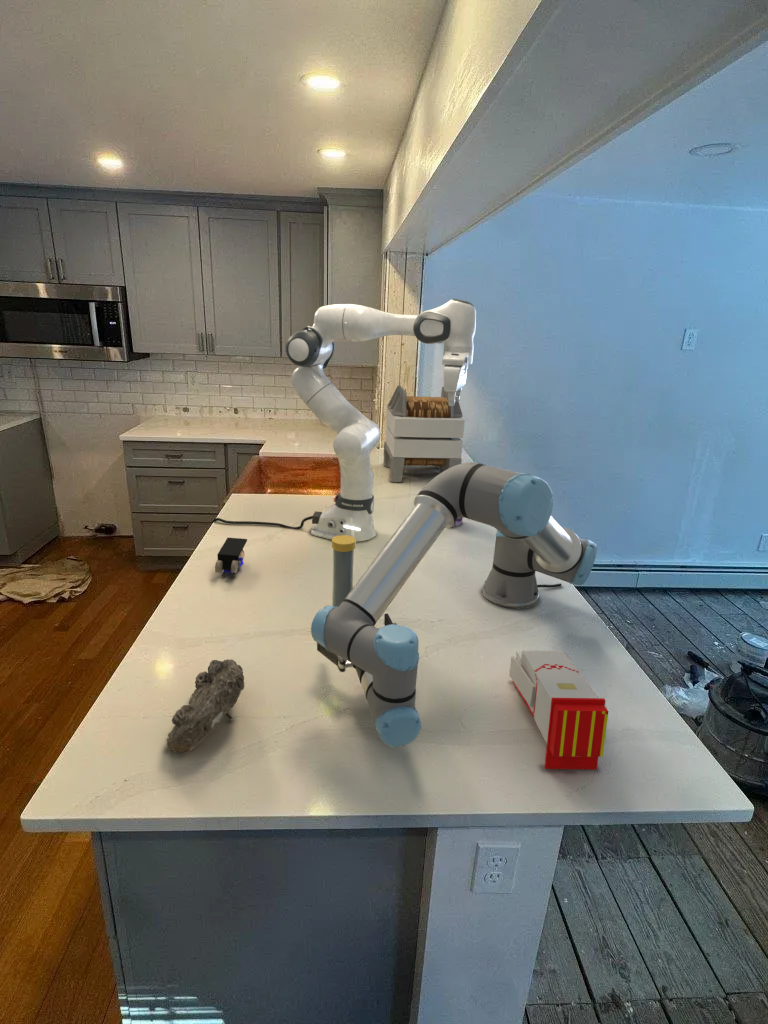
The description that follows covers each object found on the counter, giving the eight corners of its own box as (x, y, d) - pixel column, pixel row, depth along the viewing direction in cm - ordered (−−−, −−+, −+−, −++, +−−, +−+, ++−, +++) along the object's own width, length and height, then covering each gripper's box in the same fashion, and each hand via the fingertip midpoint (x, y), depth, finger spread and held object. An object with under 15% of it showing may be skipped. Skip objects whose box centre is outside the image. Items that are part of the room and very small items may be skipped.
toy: (559, 632, 124) (618, 706, 95) (553, 688, 127) (609, 777, 97) (504, 631, 123) (546, 705, 94) (499, 687, 126) (539, 776, 97)
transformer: (382, 463, 289) (386, 382, 275) (445, 464, 293) (451, 384, 279) (390, 482, 257) (394, 392, 243) (460, 483, 261) (468, 394, 247)
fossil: (192, 660, 117) (244, 628, 112) (224, 691, 120) (276, 661, 115) (142, 746, 98) (202, 712, 93) (182, 779, 101) (242, 748, 96)
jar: (330, 607, 149) (331, 538, 143) (349, 605, 151) (351, 536, 144) (334, 617, 145) (335, 546, 138) (354, 615, 146) (356, 544, 139)
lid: (329, 543, 143) (329, 535, 143) (352, 541, 145) (352, 534, 144) (334, 552, 138) (334, 545, 137) (358, 550, 140) (358, 543, 139)
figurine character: (238, 584, 162) (249, 557, 175) (236, 562, 158) (247, 536, 172) (215, 584, 161) (227, 556, 175) (212, 561, 158) (225, 535, 171)
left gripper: (453, 354, 180) (449, 398, 185) (441, 358, 161) (437, 407, 166) (473, 355, 178) (468, 399, 183) (463, 360, 160) (459, 409, 164)
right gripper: (314, 702, 107) (301, 641, 126) (439, 686, 113) (408, 630, 132) (314, 668, 104) (301, 611, 124) (442, 654, 111) (410, 602, 130)
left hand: (454, 403), depth 174 cm, fingers open, 8 cm apart
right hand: (356, 621), depth 128 cm, fingers open, 13 cm apart
